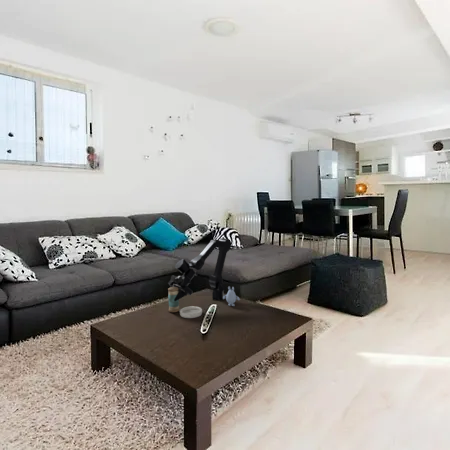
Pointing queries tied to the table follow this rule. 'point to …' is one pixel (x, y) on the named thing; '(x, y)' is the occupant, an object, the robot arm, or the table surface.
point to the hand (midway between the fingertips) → (171, 299)
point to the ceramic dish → (190, 312)
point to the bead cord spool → (173, 304)
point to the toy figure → (231, 297)
